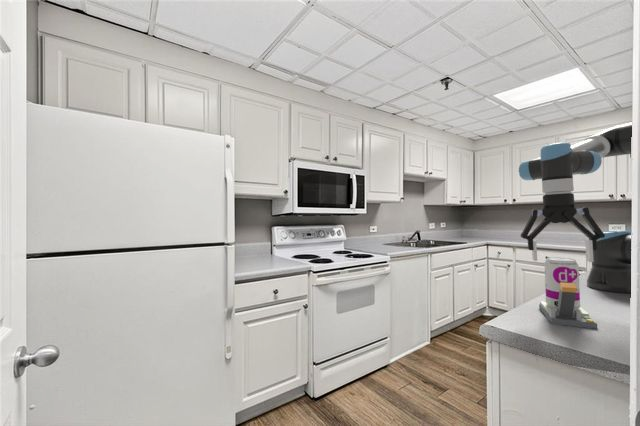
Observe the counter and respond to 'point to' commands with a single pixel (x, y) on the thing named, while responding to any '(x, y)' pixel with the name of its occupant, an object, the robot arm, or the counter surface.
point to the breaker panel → (579, 320)
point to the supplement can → (560, 279)
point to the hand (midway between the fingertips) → (561, 260)
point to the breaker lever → (566, 300)
